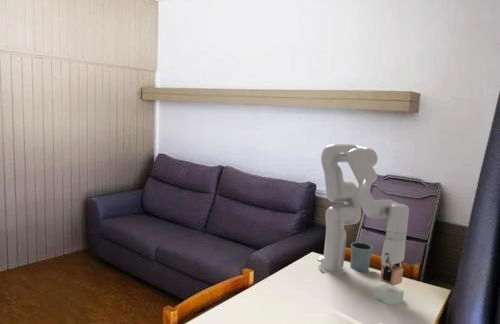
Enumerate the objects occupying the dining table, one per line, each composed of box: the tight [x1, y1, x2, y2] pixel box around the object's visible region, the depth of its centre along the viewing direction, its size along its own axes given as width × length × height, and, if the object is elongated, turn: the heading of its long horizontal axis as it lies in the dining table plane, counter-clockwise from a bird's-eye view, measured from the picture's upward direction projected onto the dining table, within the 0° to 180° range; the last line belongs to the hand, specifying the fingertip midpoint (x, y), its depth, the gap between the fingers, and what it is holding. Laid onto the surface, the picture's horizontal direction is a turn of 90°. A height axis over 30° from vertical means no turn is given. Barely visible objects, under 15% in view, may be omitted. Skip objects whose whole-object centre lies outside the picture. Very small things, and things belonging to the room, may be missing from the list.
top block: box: [379, 264, 404, 287], centre depth 163 cm, size 6×6×6 cm
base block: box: [373, 282, 404, 306], centre depth 164 cm, size 8×8×4 cm
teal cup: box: [349, 241, 374, 274], centre depth 196 cm, size 10×10×12 cm
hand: (391, 278), depth 163 cm, fingers closed on top block, 6 cm apart
